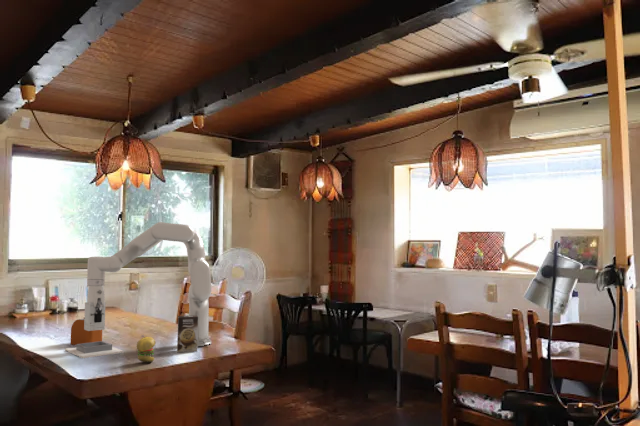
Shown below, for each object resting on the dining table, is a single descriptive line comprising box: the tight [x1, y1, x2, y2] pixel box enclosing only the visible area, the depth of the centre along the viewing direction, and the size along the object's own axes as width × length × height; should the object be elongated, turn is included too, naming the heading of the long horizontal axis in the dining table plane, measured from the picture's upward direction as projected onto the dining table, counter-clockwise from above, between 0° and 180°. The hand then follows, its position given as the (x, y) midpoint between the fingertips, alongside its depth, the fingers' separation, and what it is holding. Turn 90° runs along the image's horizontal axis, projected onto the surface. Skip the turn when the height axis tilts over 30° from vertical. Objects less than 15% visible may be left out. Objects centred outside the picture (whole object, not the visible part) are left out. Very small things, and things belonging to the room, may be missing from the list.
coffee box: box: [176, 315, 198, 353], centre depth 240 cm, size 9×6×16 cm
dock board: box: [64, 340, 125, 359], centre depth 239 cm, size 24×18×3 cm
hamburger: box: [136, 334, 157, 363], centre depth 215 cm, size 8×7×12 cm
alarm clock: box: [70, 318, 103, 346], centre depth 257 cm, size 15×8×14 cm, turn 59°
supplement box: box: [83, 301, 106, 331], centre depth 240 cm, size 7×7×13 cm
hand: (94, 321), depth 240 cm, fingers closed on supplement box, 7 cm apart
